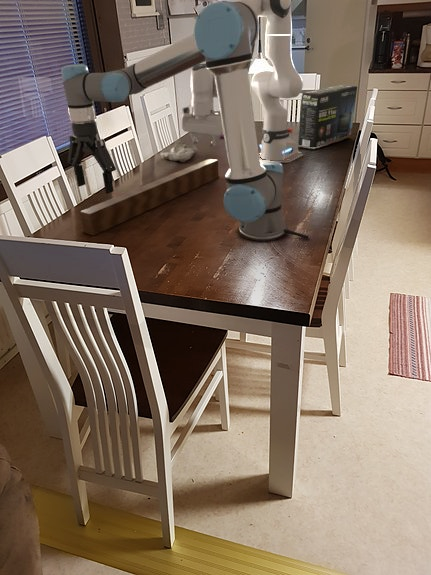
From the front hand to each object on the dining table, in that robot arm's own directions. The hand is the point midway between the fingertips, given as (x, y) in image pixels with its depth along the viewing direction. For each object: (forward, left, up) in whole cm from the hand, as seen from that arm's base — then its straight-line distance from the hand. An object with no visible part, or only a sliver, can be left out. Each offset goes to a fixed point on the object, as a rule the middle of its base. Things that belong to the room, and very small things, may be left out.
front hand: (95, 188), depth 150 cm
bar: (-3, -30, -14) cm, 33 cm away
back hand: (-6, -59, +1) cm, 59 cm away
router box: (-32, -139, -14) cm, 143 cm away
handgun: (+18, -127, -14) cm, 129 cm away
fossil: (+25, -84, -14) cm, 88 cm away
